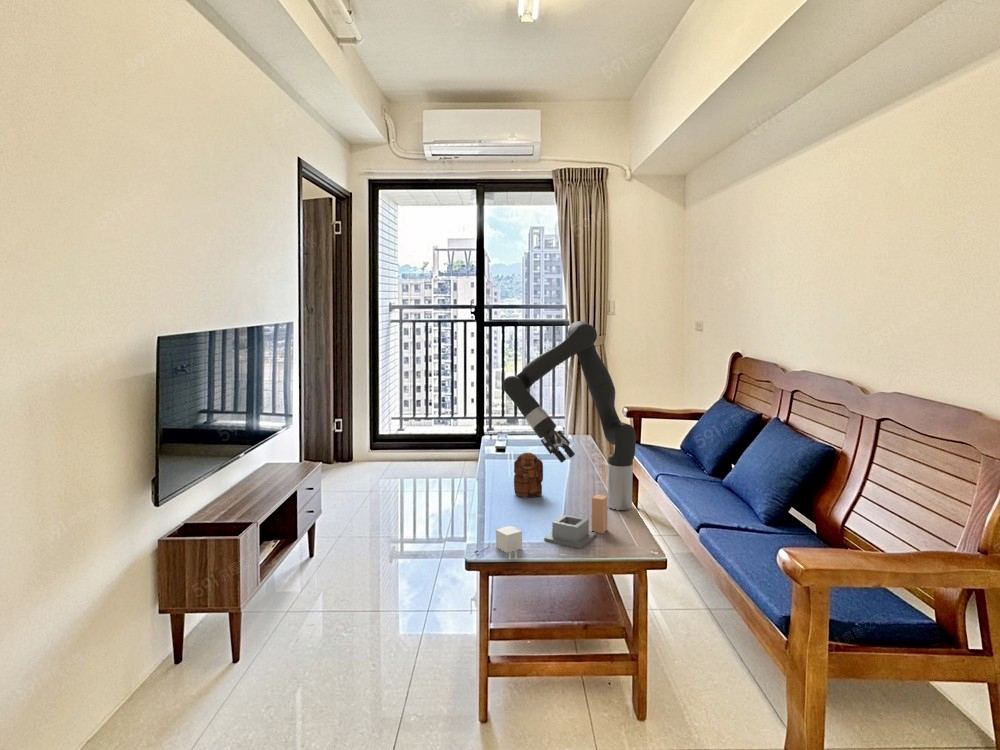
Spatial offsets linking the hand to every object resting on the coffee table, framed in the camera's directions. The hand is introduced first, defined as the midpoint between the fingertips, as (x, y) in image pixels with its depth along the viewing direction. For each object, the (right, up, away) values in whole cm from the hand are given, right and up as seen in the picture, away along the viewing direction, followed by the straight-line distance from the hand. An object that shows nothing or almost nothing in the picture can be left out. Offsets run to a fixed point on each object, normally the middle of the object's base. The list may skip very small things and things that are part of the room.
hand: (568, 458), depth 201 cm
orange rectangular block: (+10, -24, -3) cm, 27 cm away
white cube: (-21, -26, -17) cm, 38 cm away
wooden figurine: (-12, -21, +37) cm, 44 cm away
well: (0, -25, -10) cm, 27 cm away
